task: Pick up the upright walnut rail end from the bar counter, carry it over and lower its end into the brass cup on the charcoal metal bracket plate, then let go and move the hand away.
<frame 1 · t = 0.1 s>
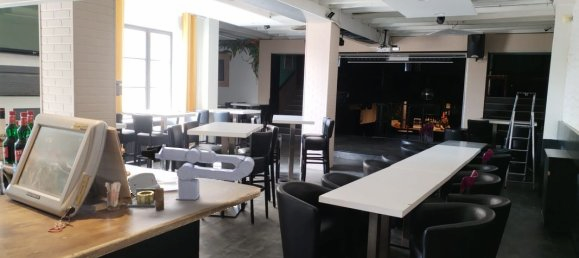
hand: (144, 151, 196), 22 cm above the bar counter, tool horizontal, fingers open, 7 cm apart
cup bracket: (145, 202, 190), on the bar counter
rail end: (159, 209, 181), on the bar counter
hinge: (142, 191, 209), on the bar counter
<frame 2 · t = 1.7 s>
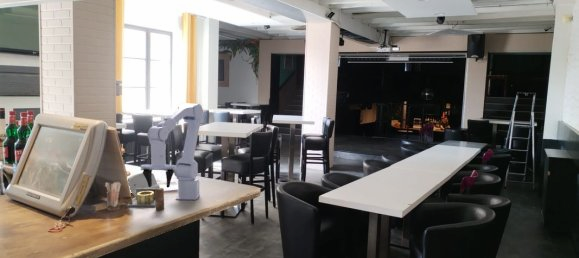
hand: (159, 186, 180), 10 cm above the bar counter, tool pointing down, fingers open, 7 cm apart
nothing on the bar counter moved.
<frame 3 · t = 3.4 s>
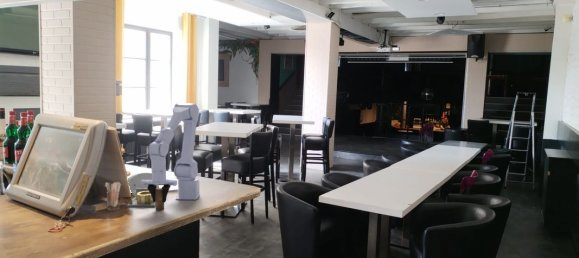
hand: (159, 201, 180), 3 cm above the bar counter, tool pointing down, fingers closed on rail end, 3 cm apart
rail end: (159, 209, 181), on the bar counter, touching gripper
everything else where it was.
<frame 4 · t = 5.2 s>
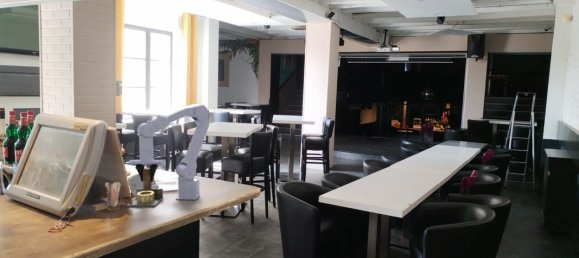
hand: (147, 181, 187), 10 cm above the bar counter, tool pointing down, fingers closed on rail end, 3 cm apart
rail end: (147, 189, 187), point 7 cm above the bar counter, touching gripper
everything else where it was.
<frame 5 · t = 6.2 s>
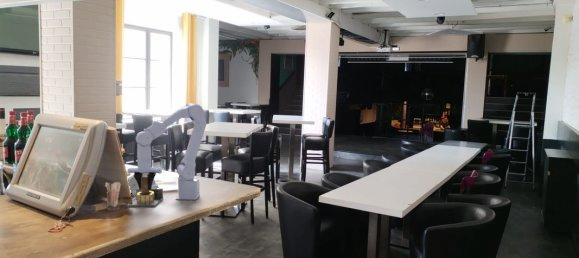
hand: (145, 188, 189), 6 cm above the bar counter, tool pointing down, fingers closed on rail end, 3 cm apart
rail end: (145, 196, 189), point 3 cm above the bar counter, touching gripper
everything else where it was.
when the fingers open (6 cm above the bar counter, at t = 6.9 s): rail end drops 2 cm, resting on cup bracket.
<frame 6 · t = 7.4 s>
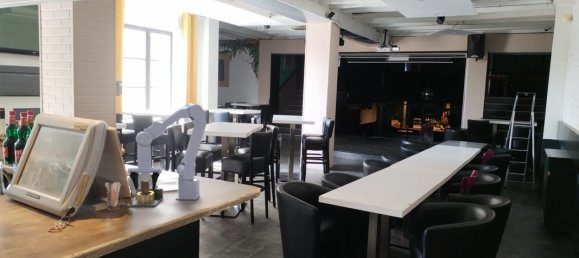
hand: (145, 188, 189), 6 cm above the bar counter, tool pointing down, fingers open, 7 cm apart
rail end: (145, 200, 189), point 1 cm above the bar counter, touching cup bracket
everything else where it was.
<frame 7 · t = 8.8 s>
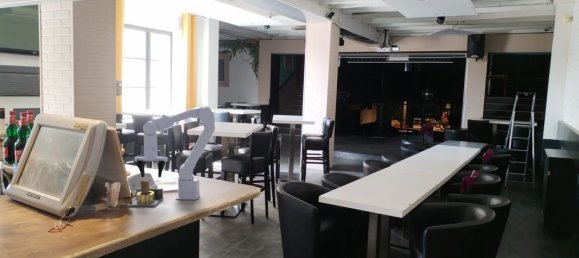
hand: (151, 176, 194), 10 cm above the bar counter, tool pointing down, fingers open, 7 cm apart
nothing on the bar counter moved.
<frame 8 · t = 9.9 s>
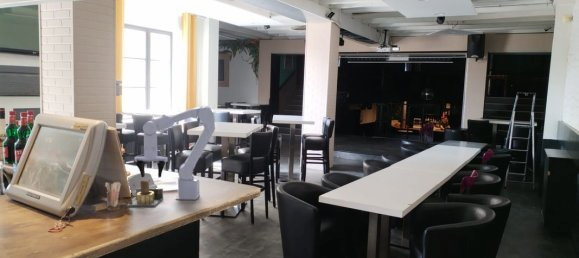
hand: (151, 176, 194), 10 cm above the bar counter, tool pointing down, fingers open, 7 cm apart
at the end: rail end 0.3 cm off-centre on the cup bracket, point 1.0 cm above the cup bracket's base; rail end tilted 1°; the gripper is holding nothing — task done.
